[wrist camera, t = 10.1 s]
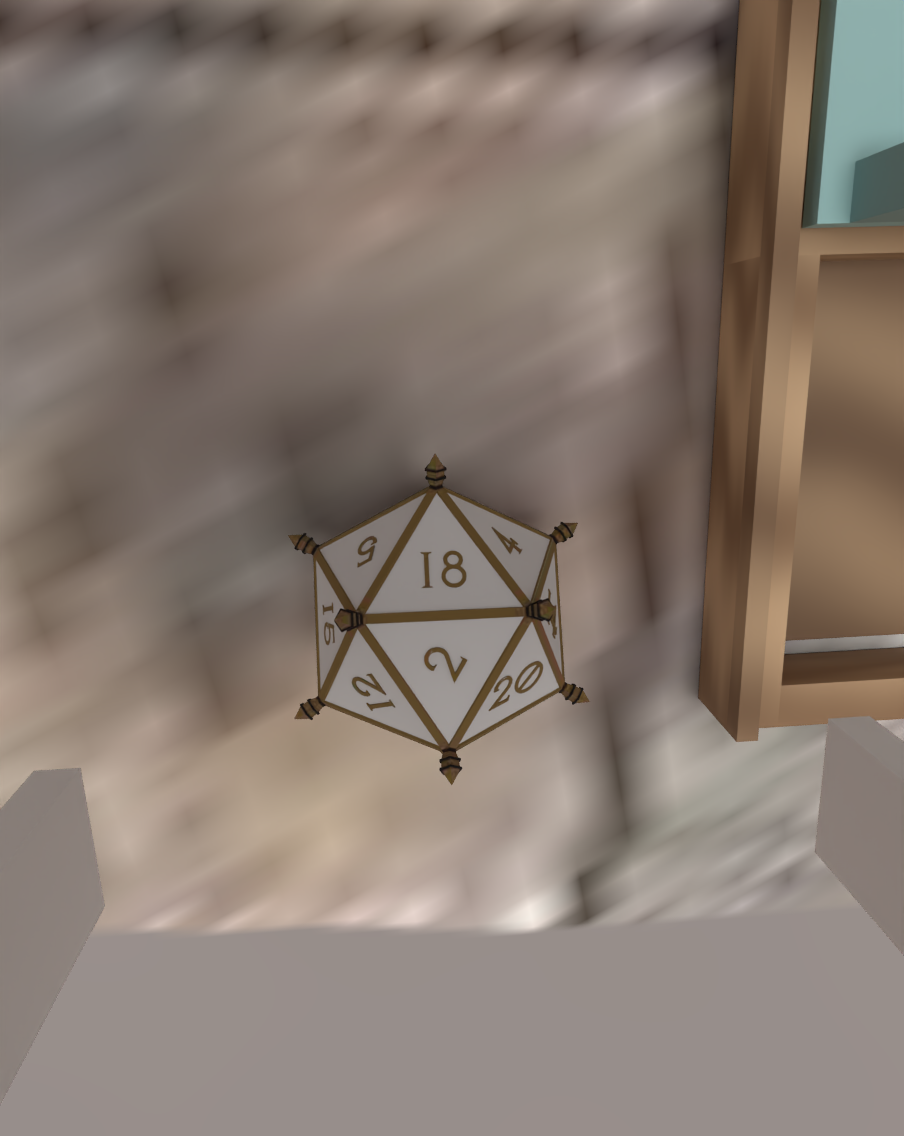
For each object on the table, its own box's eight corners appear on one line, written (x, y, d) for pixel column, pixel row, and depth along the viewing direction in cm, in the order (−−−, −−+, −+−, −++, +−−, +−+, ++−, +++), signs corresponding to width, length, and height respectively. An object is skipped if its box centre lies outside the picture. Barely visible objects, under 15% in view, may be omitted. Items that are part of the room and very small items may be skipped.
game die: (457, 509, 30) (667, 451, 21) (469, 736, 29) (691, 765, 21) (225, 494, 24) (385, 410, 16) (232, 770, 24) (404, 826, 16)
